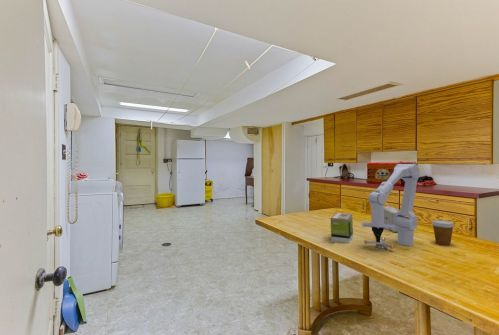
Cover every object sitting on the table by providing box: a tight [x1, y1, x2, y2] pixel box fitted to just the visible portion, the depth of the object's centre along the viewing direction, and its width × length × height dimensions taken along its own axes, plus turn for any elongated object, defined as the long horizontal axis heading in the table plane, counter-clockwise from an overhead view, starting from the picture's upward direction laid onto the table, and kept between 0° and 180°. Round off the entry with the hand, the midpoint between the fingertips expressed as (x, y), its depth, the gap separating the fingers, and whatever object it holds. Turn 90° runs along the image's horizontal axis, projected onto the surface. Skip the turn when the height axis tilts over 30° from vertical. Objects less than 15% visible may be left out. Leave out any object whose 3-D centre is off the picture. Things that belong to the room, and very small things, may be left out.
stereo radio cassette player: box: [384, 202, 407, 233], centre depth 165 cm, size 21×8×20 cm, turn 171°
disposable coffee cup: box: [431, 219, 455, 246], centre depth 133 cm, size 10×10×12 cm
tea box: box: [330, 212, 354, 244], centre depth 143 cm, size 15×10×15 cm, turn 149°
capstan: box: [363, 237, 395, 250], centre depth 126 cm, size 12×14×4 cm
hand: (378, 242), depth 125 cm, fingers closed
